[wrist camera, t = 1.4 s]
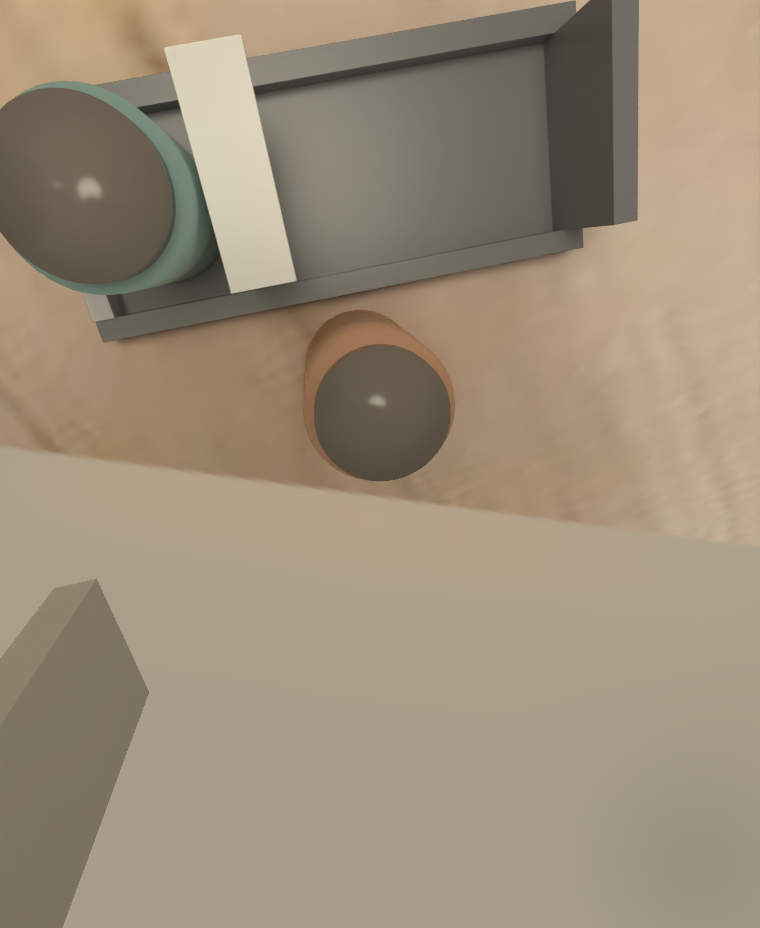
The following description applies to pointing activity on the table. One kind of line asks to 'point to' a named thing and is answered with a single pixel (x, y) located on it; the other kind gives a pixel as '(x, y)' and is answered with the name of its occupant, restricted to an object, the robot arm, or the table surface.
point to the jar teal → (99, 192)
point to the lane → (422, 155)
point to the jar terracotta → (374, 397)
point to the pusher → (232, 160)
